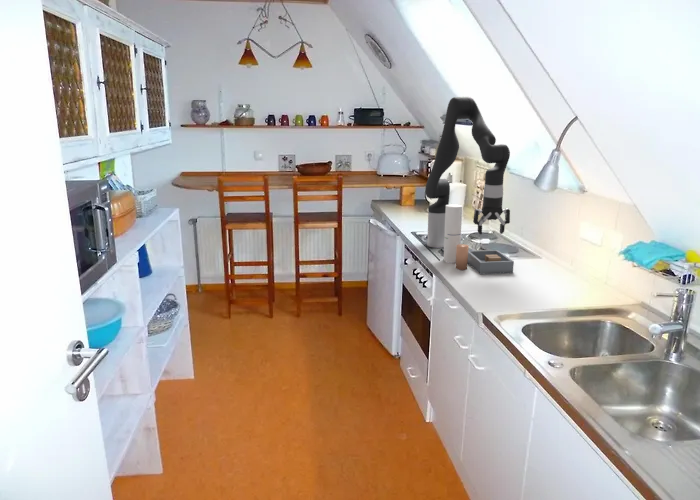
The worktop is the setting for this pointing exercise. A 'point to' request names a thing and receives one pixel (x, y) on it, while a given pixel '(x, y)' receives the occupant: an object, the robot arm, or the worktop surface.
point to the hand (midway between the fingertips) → (490, 233)
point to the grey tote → (495, 267)
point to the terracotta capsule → (461, 256)
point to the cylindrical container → (452, 231)
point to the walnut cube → (492, 258)
